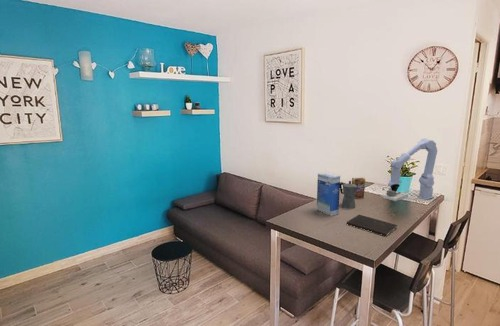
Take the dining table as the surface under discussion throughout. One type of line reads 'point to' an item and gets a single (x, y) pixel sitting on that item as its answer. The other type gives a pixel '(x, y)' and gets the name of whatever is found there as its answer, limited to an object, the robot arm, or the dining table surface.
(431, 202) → the dining table surface
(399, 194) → the console
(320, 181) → the string lights box
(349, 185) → the coffeepot
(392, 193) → the fader cap
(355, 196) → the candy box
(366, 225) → the black spiral notebook
